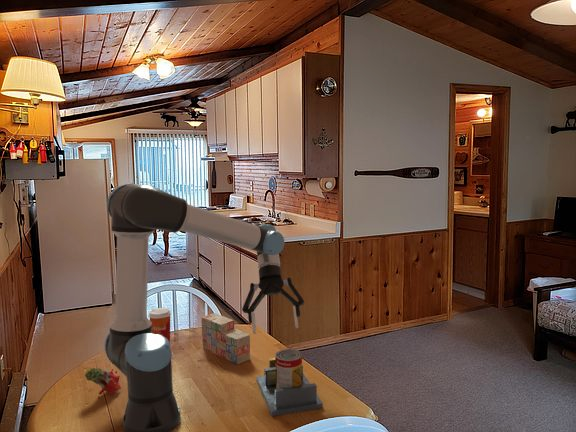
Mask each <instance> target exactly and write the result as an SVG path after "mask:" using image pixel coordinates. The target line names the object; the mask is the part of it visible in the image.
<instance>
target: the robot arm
mask: <svg viewBox="0 0 576 432" xmlns="http://www.w3.org/2000/svg"><path fill="white" fill-rule="evenodd" d="M106 209H107V212H108V214H109V216H110V218H111V233H112V234H113V235H115V237H116V273H115V274H116V276H115V278H116V279H115V280H116V283H115V319H114V320H113V321H112V322H111V323H110V324H109V333H107V335H106V338H105V341H104V352H105V355H106V357H107V358H108V361H110V363H111V364H112V365H114V366H115V367H116V368H117V369H118V370H119V371H120V372H121V373H122V374H123V375H124V376H125V377H126V380H127V381H126V383H127V393H128V394H127V398H128V399H127V403H126V405H125V407H126V408H125V411H124V415H123V418H122V426H123V428H122V429H123V431H124V432H171V431H173V430H174V429H176V428H177V427H178V425H179V424H180V422H181V420H182V417H181V408H180V406H179V404H178V403H177V400H176V395H175V394H174V392H173V389H174V387H173V368H172V367H173V365H172V354H173V353H172V349H171V342H170V343H169V341H168V340H167V338H165V337H164V336H162V335H159V334H156V335H154V333H152V322H151V321H150V318H149V317H148V316H147V315H148V313H147V310H148V309H147V307H148V278H149V277H148V273H149V272H148V269H149V238H150V236H151V235H153V233H154V232H155V230H157V231H166V232H169V233H170V232H171V233H173V234H176V233H178V232H184V233H188V234H192V235H196V236H200V237H203V238H205V239H210V240H214V241H218V242H221V243H226V244H228V245H229V244H230V245H233V246H234V247H238V248H239V247H241V248H243V249H247V250H251V251H254V252H256V256H257V265H258V267H257V268H258V279H259V283H253V282H251V283H249V287H250V288H249V291H248V294H247V296H246V298H245V301H244V303H243V306H242V307H241V310H242V312H243V314H247V318H248V322H249V324H251V326H252V328H251V329H252V333H253V334H254V335H257V324H256V322H257V321H256V313H255V311H256V308H257V307H258V306H259V304H260V303H261V302H262V301H263V299H264V298H265V296H269V297H271V296H275V295H276V296H277V295H278V294H280V295H281V296H283V298H285V299H286V300H287V301H288V302H290V303H291V304H292V305H293V306H292V309H293V318H294V326H295V329H299V322H298V318H299V317H301V311H300V307H301V306H304V305H305V300H304V299H303V297H302V296H301V294H300V292H299V291H298V290H297V289H296V288H295V285H294V284H293V282H292V279H291V277H288V278H287V279H283V278H282V269H281V261H280V259H281V258H280V253H281V252H282V251H283V249H284V247H285V237H284V236H283V234H282V233H281V232H279V231H277V229H276V227H275V226H274V225H272V224H269V223H268V224H266V223H265V224H260V225H258V226H257V225H255V224H253V223H249V222H246V221H243V220H240V219H236V218H233V217H230V216H227V215H223V214H220V213H216V212H213V211H210V210H208V209H204V208H201V207H197V206H195V205H192V204H189V203H188V201H187V200H186V199H185V198H181V197H178V196H175V195H173V194H171V193H168V192H166V191H164V190H163V189H160V188H157V187H154V186H151V185H146V184H138V183H124V184H121V185H119V186H117V187H115V188H114V189H113V190H112V191H111V192H110V193H109V195H108V198H107V200H106ZM284 285H286V286H287V287H289V289H290V291H291V292H292V293H293V295H294V296H295V298H296V299H297V300H296V299H295V298H294V297H293V296H292V295H291V294H289V293H288V292H287V291H286V290H285V289H284V288H283V287H284ZM258 288H259V289H260V291H259V292H258V295H257V296H256V297H255V299H254V300H253V298H254V295H255V292H256V291H257V289H258ZM252 300H253V301H252ZM251 303H252V304H251Z"/></svg>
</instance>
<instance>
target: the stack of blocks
mask: <svg viewBox="0 0 576 432" xmlns="http://www.w3.org/2000/svg"><path fill="white" fill-rule="evenodd" d="M201 334H202V348H204V350H207V351H209V352H211V353H213V354H215V355H218V356H220V357H222V358H224V359H225V360H227V361H229V362H231V363H233V364H235V365H239V364H241V363H244V362H246V361H249V360H251V334H249V333H246V332H245V331H243V330H239V329H237V328H235V320H234V319H231V318H229V317H226V316H223V315H221V314H219V313H215V312H213V313H211V314H207V315H205V316H204V315H203V316H201Z"/></svg>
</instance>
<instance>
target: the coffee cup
mask: <svg viewBox="0 0 576 432" xmlns="http://www.w3.org/2000/svg"><path fill="white" fill-rule="evenodd" d="M147 315H148V316H147V317H148V318H149V320H150V321H151V322H152V333H154V335H156V334H159V335H162V336H164V337H165V338H167V340H168V341H169V343H170V344H171V315H172V312H171V311H170V309H169V308H168V307H159V308H158V307H157V308H154V309H152V310H150V311H149V313H148V314H147Z"/></svg>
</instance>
